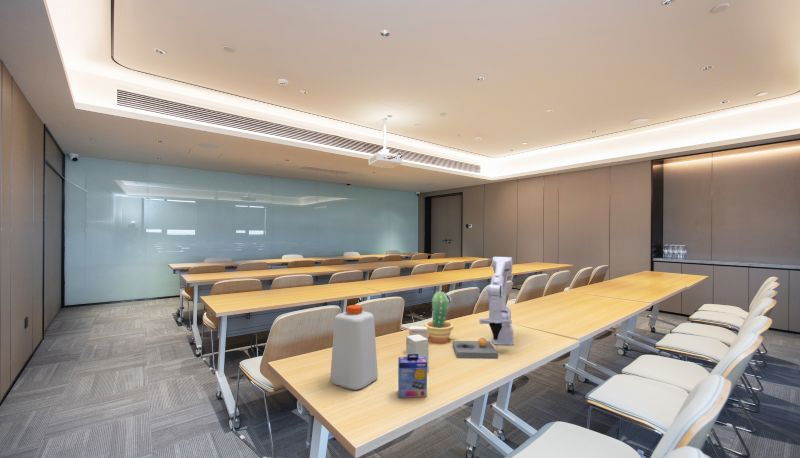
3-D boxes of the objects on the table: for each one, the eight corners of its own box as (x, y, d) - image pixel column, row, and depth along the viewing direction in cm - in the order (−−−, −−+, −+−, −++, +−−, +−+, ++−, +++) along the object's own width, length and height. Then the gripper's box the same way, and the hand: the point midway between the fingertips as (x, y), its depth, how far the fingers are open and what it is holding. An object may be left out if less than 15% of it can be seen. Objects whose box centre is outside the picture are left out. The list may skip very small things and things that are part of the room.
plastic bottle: (357, 393, 117) (357, 313, 117) (325, 383, 125) (325, 307, 125) (382, 377, 129) (382, 305, 130) (351, 369, 137) (352, 300, 138)
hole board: (489, 346, 165) (489, 341, 165) (497, 358, 149) (497, 352, 149) (452, 345, 165) (452, 340, 166) (457, 357, 150) (457, 352, 150)
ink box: (427, 351, 158) (427, 326, 158) (427, 355, 153) (427, 329, 153) (409, 350, 159) (409, 325, 159) (409, 354, 154) (409, 328, 154)
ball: (485, 345, 159) (485, 336, 159) (487, 348, 155) (487, 339, 155) (477, 345, 159) (477, 336, 159) (479, 348, 155) (479, 339, 155)
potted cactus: (456, 344, 167) (456, 294, 167) (425, 344, 167) (425, 294, 167) (451, 335, 182) (451, 289, 183) (423, 335, 183) (423, 289, 183)
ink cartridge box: (398, 398, 113) (398, 355, 113) (397, 390, 119) (397, 349, 119) (427, 397, 114) (427, 354, 114) (425, 389, 119) (425, 349, 120)
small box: (428, 371, 135) (428, 339, 135) (415, 374, 132) (415, 341, 132) (419, 364, 142) (419, 333, 142) (405, 367, 139) (405, 335, 140)
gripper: (481, 311, 153) (481, 341, 153) (513, 312, 153) (513, 342, 153) (478, 308, 160) (478, 337, 160) (509, 308, 160) (509, 337, 160)
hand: (495, 339), depth 157 cm, fingers closed
